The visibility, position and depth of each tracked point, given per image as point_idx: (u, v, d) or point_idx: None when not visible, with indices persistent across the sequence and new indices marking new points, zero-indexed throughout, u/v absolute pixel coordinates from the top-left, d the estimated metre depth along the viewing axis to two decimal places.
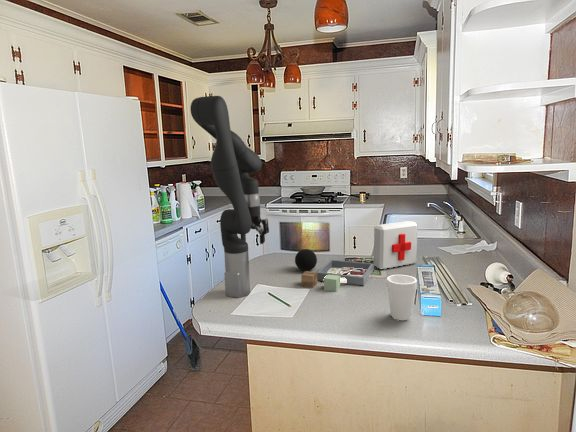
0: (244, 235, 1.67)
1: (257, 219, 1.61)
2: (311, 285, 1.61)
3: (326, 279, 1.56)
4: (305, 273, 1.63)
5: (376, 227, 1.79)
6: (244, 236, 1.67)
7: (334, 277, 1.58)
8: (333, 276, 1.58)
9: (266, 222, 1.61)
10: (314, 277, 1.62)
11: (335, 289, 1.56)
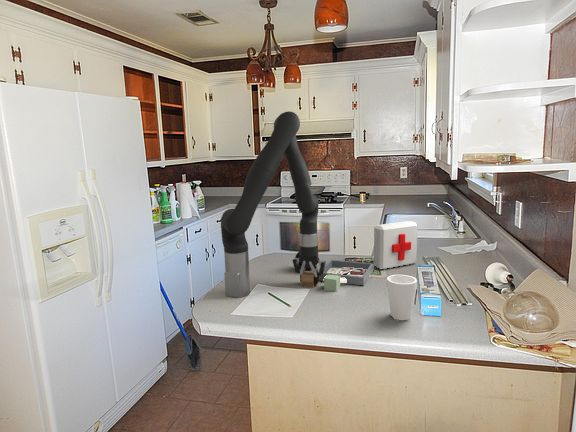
0: None
1: (316, 259, 1.59)
2: (311, 285, 1.61)
3: (326, 279, 1.56)
4: (305, 273, 1.63)
5: (376, 227, 1.79)
6: None
7: (334, 277, 1.58)
8: (333, 276, 1.58)
9: (324, 265, 1.59)
10: None
11: (335, 289, 1.56)
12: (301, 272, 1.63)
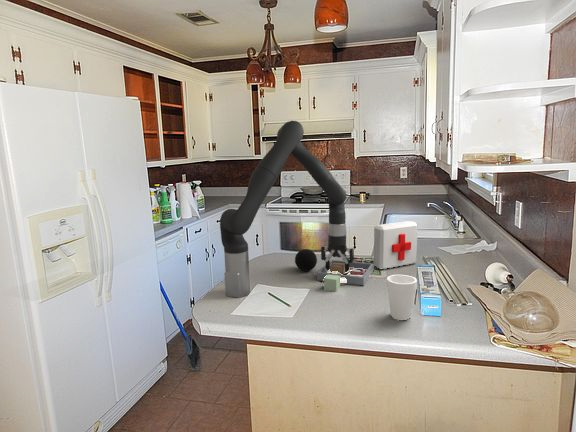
0: (329, 263, 1.73)
1: (344, 248, 1.68)
2: None
3: (326, 279, 1.56)
4: (333, 264, 1.71)
5: (376, 227, 1.79)
6: (329, 264, 1.73)
7: (334, 277, 1.58)
8: (333, 276, 1.58)
9: (352, 251, 1.67)
10: (342, 268, 1.70)
11: (335, 289, 1.56)
12: (327, 259, 1.71)
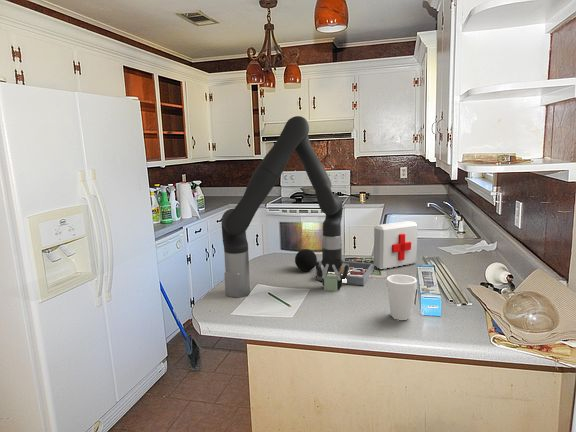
0: None
1: (339, 262, 1.54)
2: None
3: (326, 278, 1.56)
4: None
5: (376, 227, 1.79)
6: None
7: (334, 276, 1.58)
8: (333, 276, 1.58)
9: (348, 268, 1.54)
10: (342, 268, 1.70)
11: (335, 289, 1.56)
12: (324, 275, 1.58)
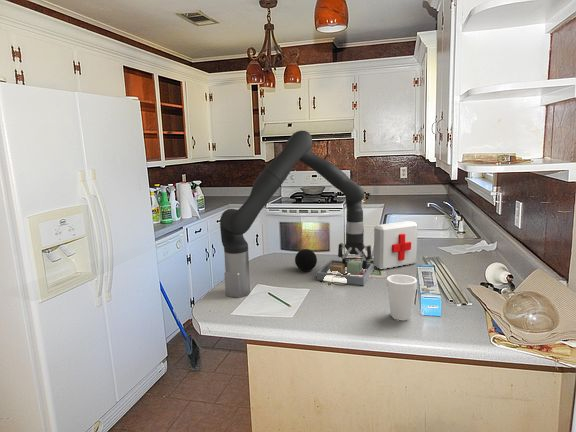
0: (345, 260, 1.76)
1: (361, 245, 1.71)
2: None
3: (349, 264, 1.73)
4: (333, 264, 1.71)
5: (376, 227, 1.79)
6: (345, 261, 1.76)
7: (357, 262, 1.74)
8: (355, 262, 1.74)
9: (370, 248, 1.70)
10: (342, 268, 1.70)
11: (357, 273, 1.72)
12: (344, 256, 1.74)
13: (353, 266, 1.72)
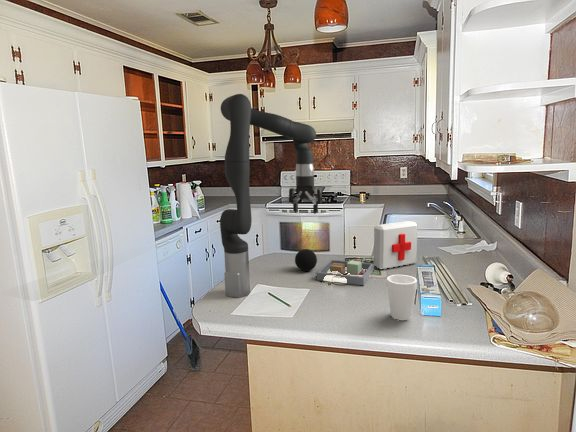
0: (297, 205, 1.71)
1: (311, 189, 1.66)
2: None
3: (348, 264, 1.73)
4: (333, 264, 1.71)
5: (376, 227, 1.79)
6: (297, 206, 1.71)
7: (356, 262, 1.74)
8: (355, 262, 1.74)
9: (320, 192, 1.65)
10: (342, 268, 1.70)
11: (357, 273, 1.72)
12: (294, 201, 1.69)
13: (352, 266, 1.72)
